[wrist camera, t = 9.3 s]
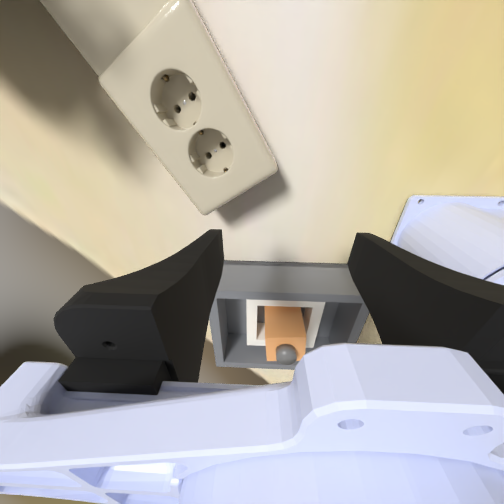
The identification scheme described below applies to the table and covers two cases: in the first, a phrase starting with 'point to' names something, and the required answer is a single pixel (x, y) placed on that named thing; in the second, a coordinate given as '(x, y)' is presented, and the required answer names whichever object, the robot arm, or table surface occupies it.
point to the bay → (288, 295)
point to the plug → (284, 334)
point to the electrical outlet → (172, 91)
